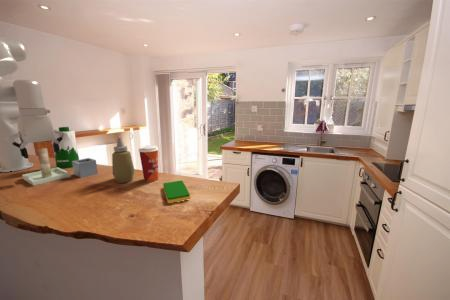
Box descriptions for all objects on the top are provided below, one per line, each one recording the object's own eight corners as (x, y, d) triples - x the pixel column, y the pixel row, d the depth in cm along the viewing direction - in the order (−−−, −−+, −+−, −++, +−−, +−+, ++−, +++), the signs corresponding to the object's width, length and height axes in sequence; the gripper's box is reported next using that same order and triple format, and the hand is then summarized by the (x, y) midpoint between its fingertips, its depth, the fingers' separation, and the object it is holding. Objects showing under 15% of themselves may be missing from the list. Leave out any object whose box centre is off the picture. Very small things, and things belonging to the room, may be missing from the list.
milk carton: (82, 164, 107) (76, 126, 102) (74, 169, 98) (66, 128, 94) (63, 165, 105) (56, 127, 100) (53, 170, 96) (44, 129, 92)
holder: (74, 176, 88) (71, 161, 86) (91, 172, 93) (88, 157, 92) (81, 179, 84) (78, 163, 83) (98, 175, 90) (95, 160, 88)
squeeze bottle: (110, 180, 83) (104, 137, 79) (130, 175, 88) (125, 135, 84) (118, 186, 77) (111, 140, 73) (138, 180, 83) (134, 137, 79)
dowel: (41, 176, 84) (36, 149, 81) (50, 175, 86) (45, 147, 84) (43, 178, 82) (38, 150, 80) (52, 176, 85) (48, 148, 82)
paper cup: (154, 183, 80) (151, 149, 77) (137, 182, 81) (133, 148, 78) (164, 176, 87) (162, 145, 84) (148, 175, 89) (145, 144, 86)
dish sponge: (182, 185, 78) (182, 179, 78) (190, 201, 66) (190, 194, 65) (163, 188, 76) (163, 182, 75) (168, 205, 63) (167, 198, 63)
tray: (23, 180, 84) (22, 174, 83) (58, 172, 93) (57, 167, 93) (34, 188, 76) (32, 181, 75) (71, 178, 86) (70, 172, 85)
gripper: (56, 112, 88) (63, 150, 91) (-2, 113, 74) (9, 158, 77) (63, 112, 84) (70, 152, 87) (3, 114, 69) (15, 161, 73)
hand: (42, 155), depth 82 cm, fingers open, 9 cm apart
